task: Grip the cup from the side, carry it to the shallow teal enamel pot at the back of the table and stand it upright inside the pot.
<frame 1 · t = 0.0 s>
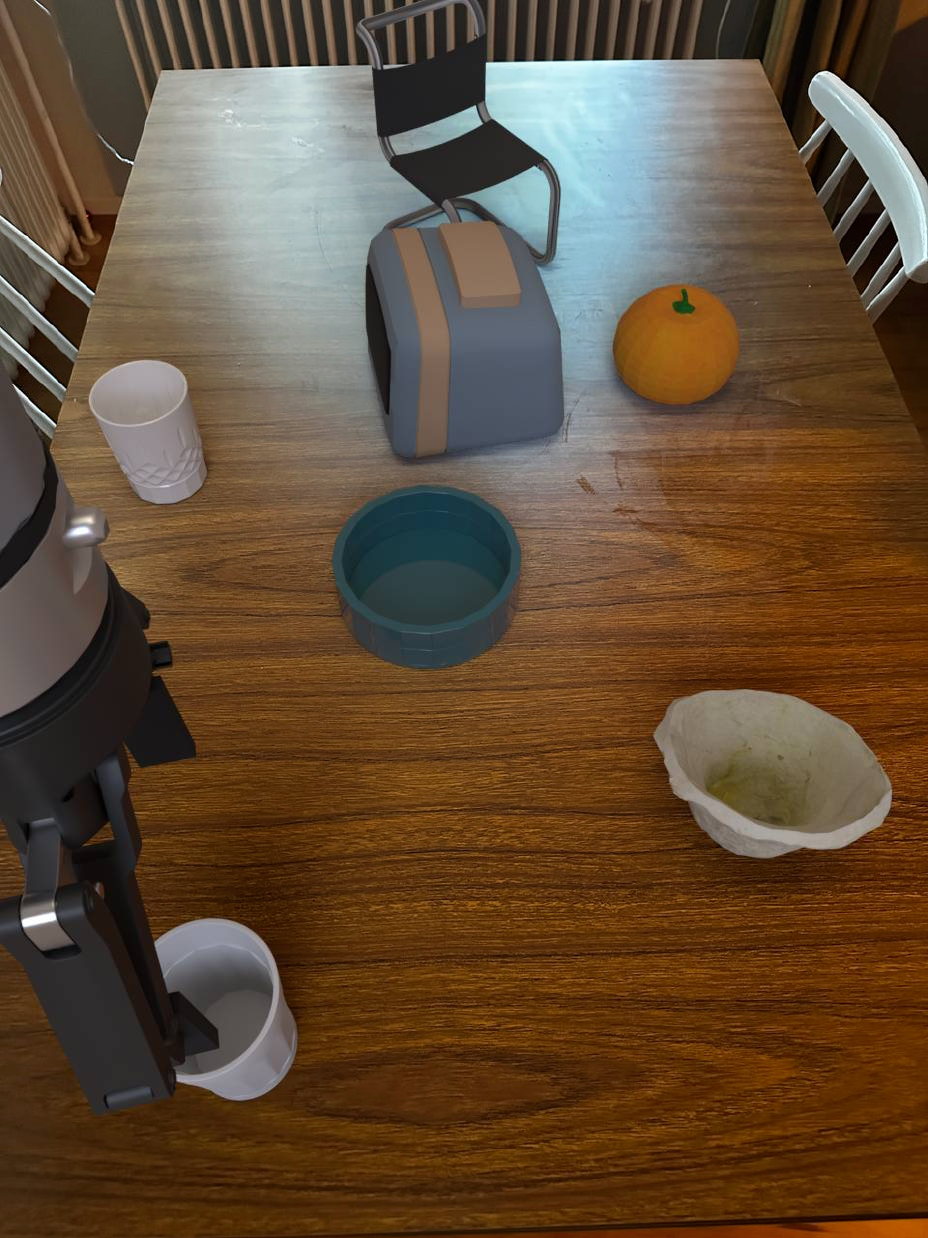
hand: (176, 889, 43), 21 cm above the table, tool pointing down, fingers open, 13 cm apart
pot: (429, 593, 78), on the table
bowl: (743, 802, 68), on the table
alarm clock: (463, 398, 91), on the table
fruit: (668, 379, 93), on the table
cup: (246, 1044, 59), on the table
chair: (462, 256, 104), on the table
white cup: (170, 478, 86), on the table
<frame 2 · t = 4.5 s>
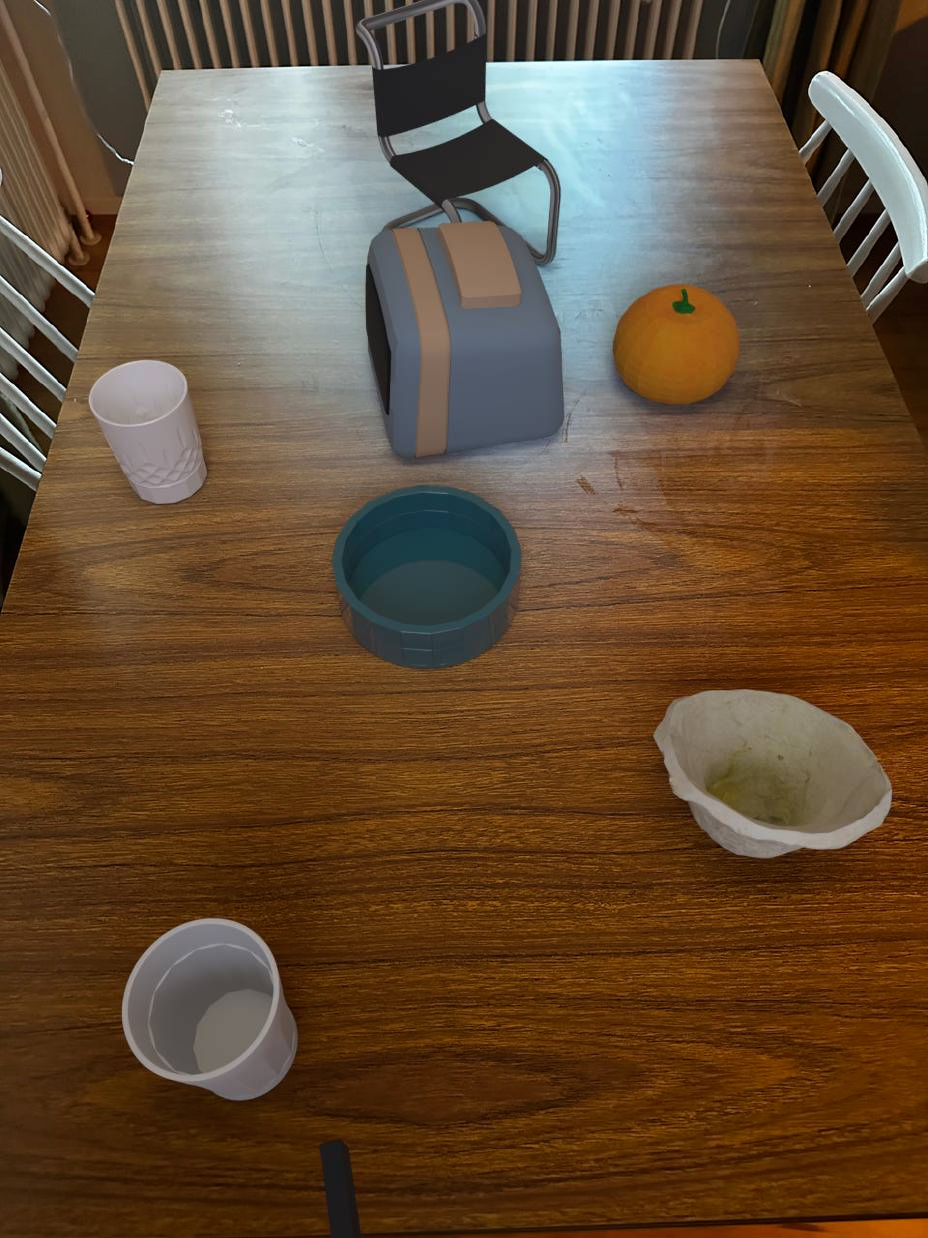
hand: (143, 1194, 34), 24 cm above the table, tool horizontal, fingers open, 13 cm apart
nothing on the table moved.
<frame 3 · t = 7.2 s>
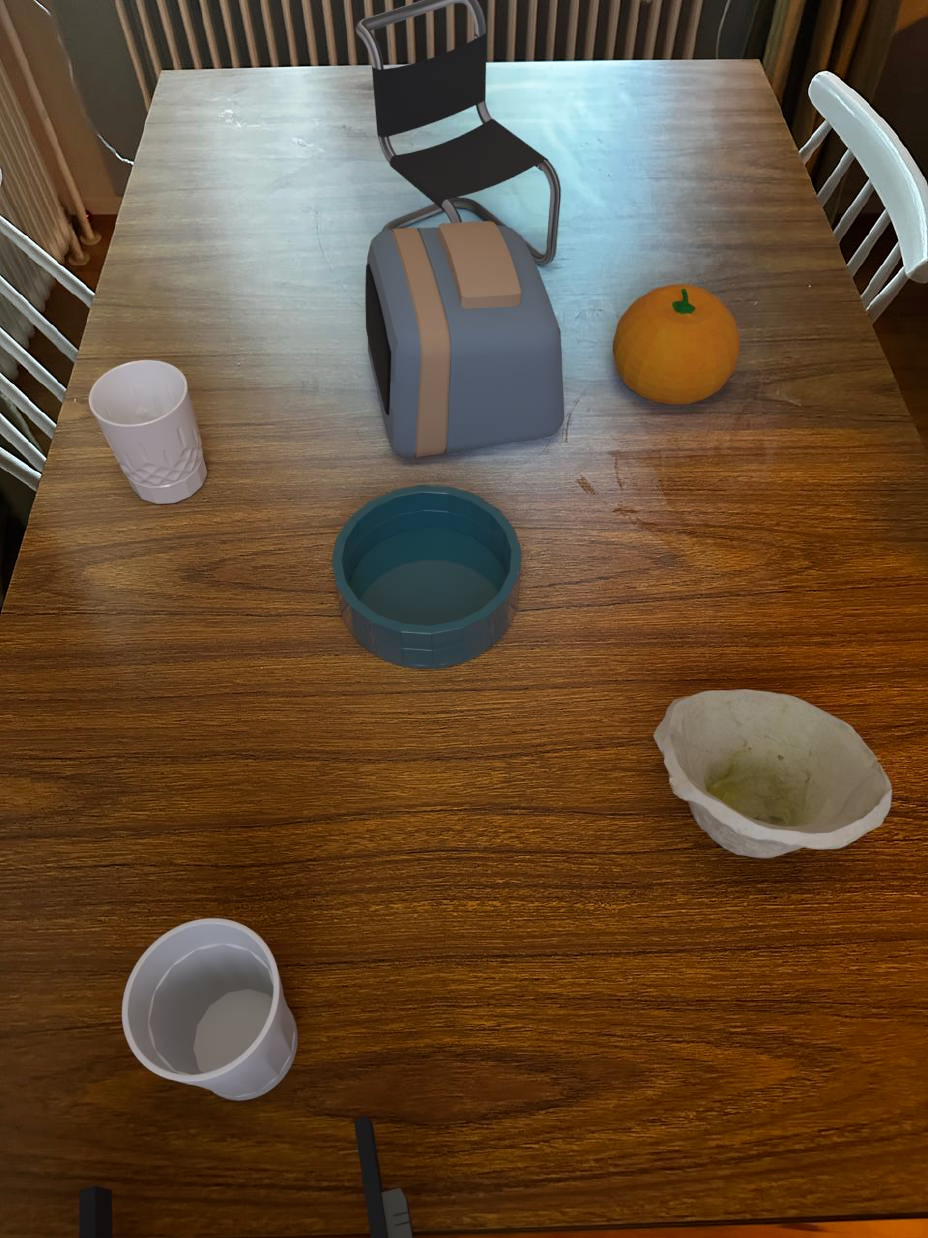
hand: (231, 1154, 49), 7 cm above the table, tool horizontal, fingers open, 13 cm apart
nothing on the table moved.
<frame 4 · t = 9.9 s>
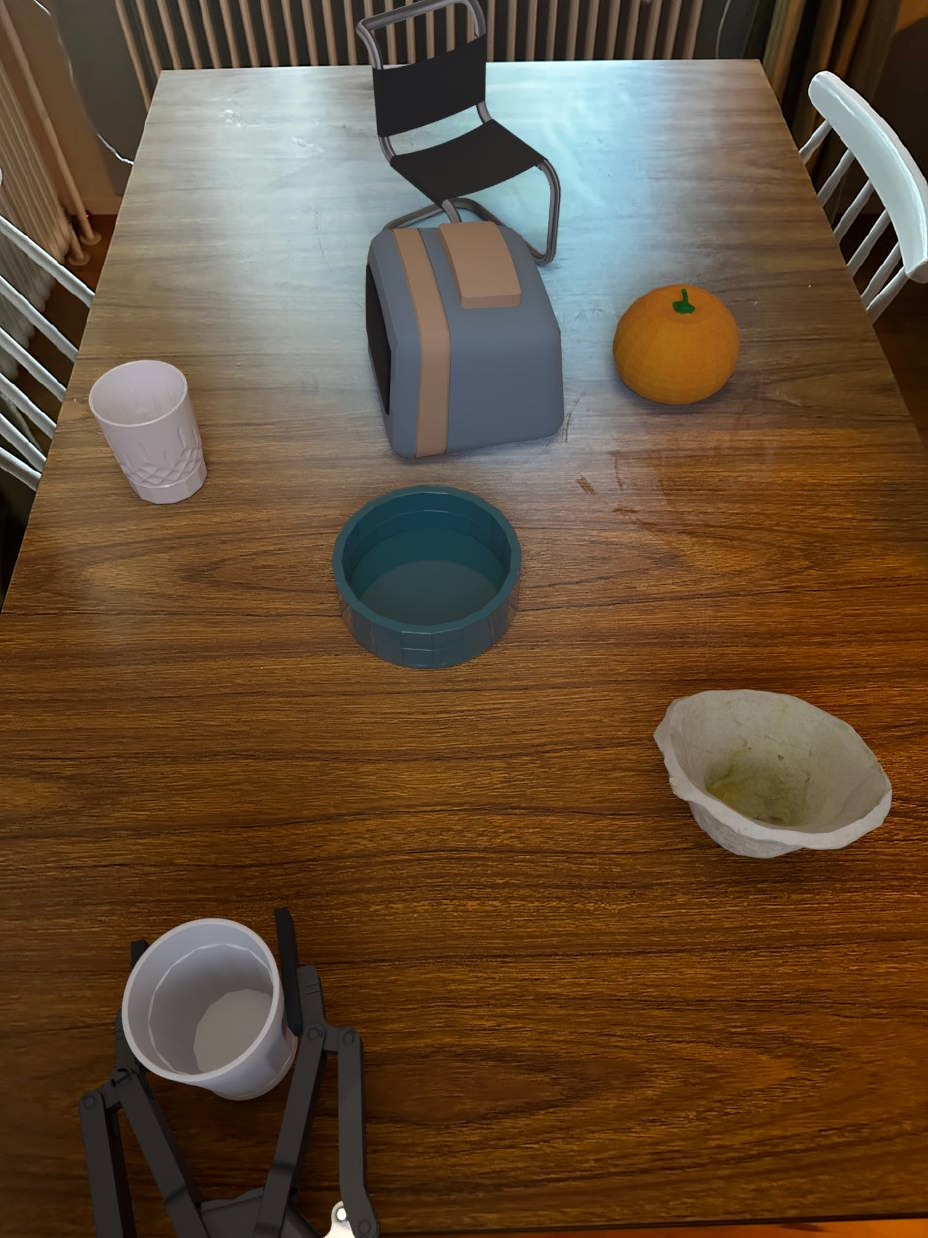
hand: (214, 931, 55), 7 cm above the table, tool horizontal, fingers closed on cup, 7 cm apart
cup: (246, 1044, 59), on the table, touching gripper
everything else where it was.
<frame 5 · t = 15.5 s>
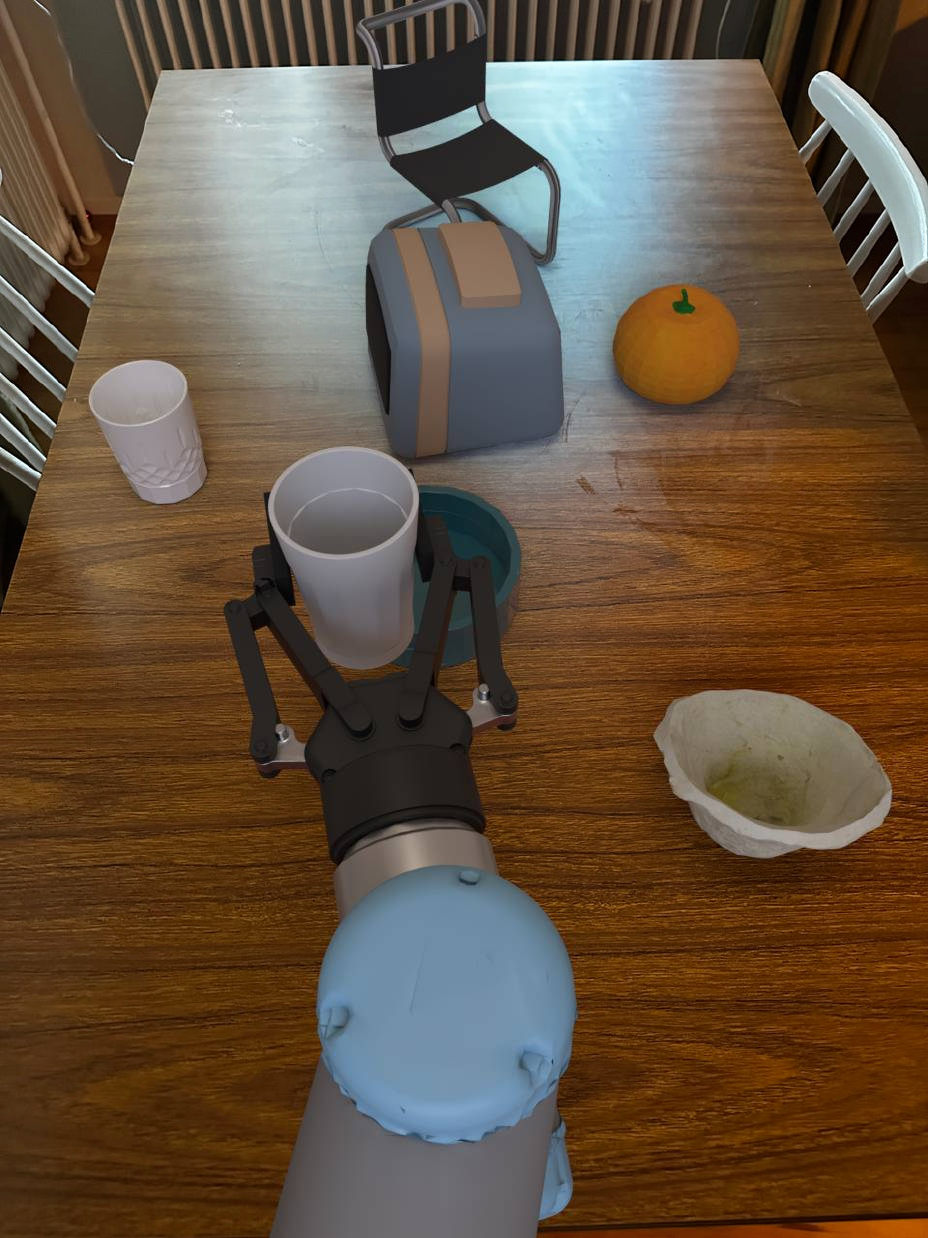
hand: (340, 496, 57), 20 cm above the table, tool horizontal, fingers closed on cup, 7 cm apart
cup: (364, 628, 60), point 13 cm above the table, touching gripper
everything else where it was.
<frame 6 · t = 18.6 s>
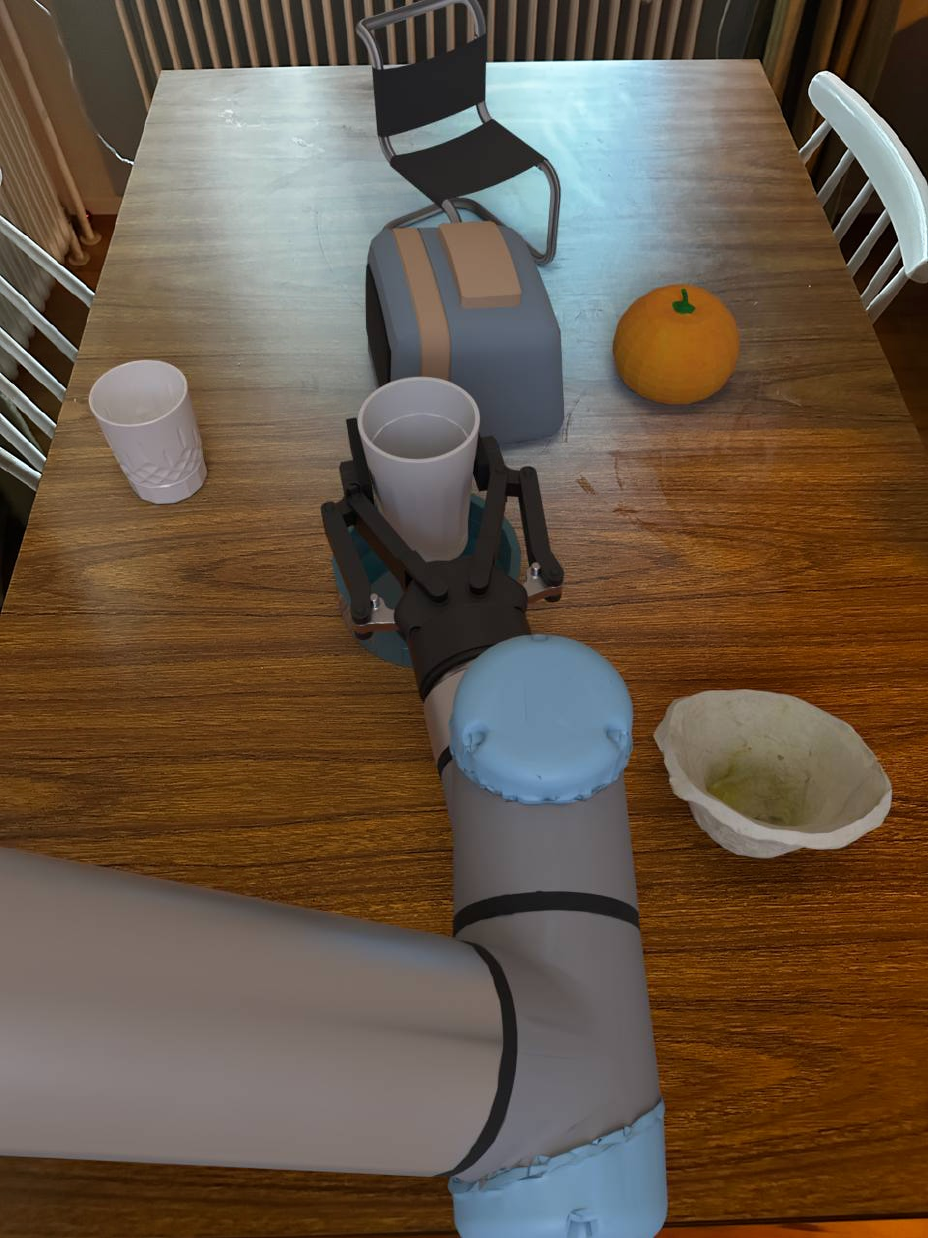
hand: (408, 423, 69), 14 cm above the table, tool horizontal, fingers closed on cup, 7 cm apart
cup: (426, 537, 72), point 7 cm above the table, touching gripper
everything else where it was.
when the fingers open (7 cm above the table, at t = 21.0 s): cup stays where it is, resting on pot.
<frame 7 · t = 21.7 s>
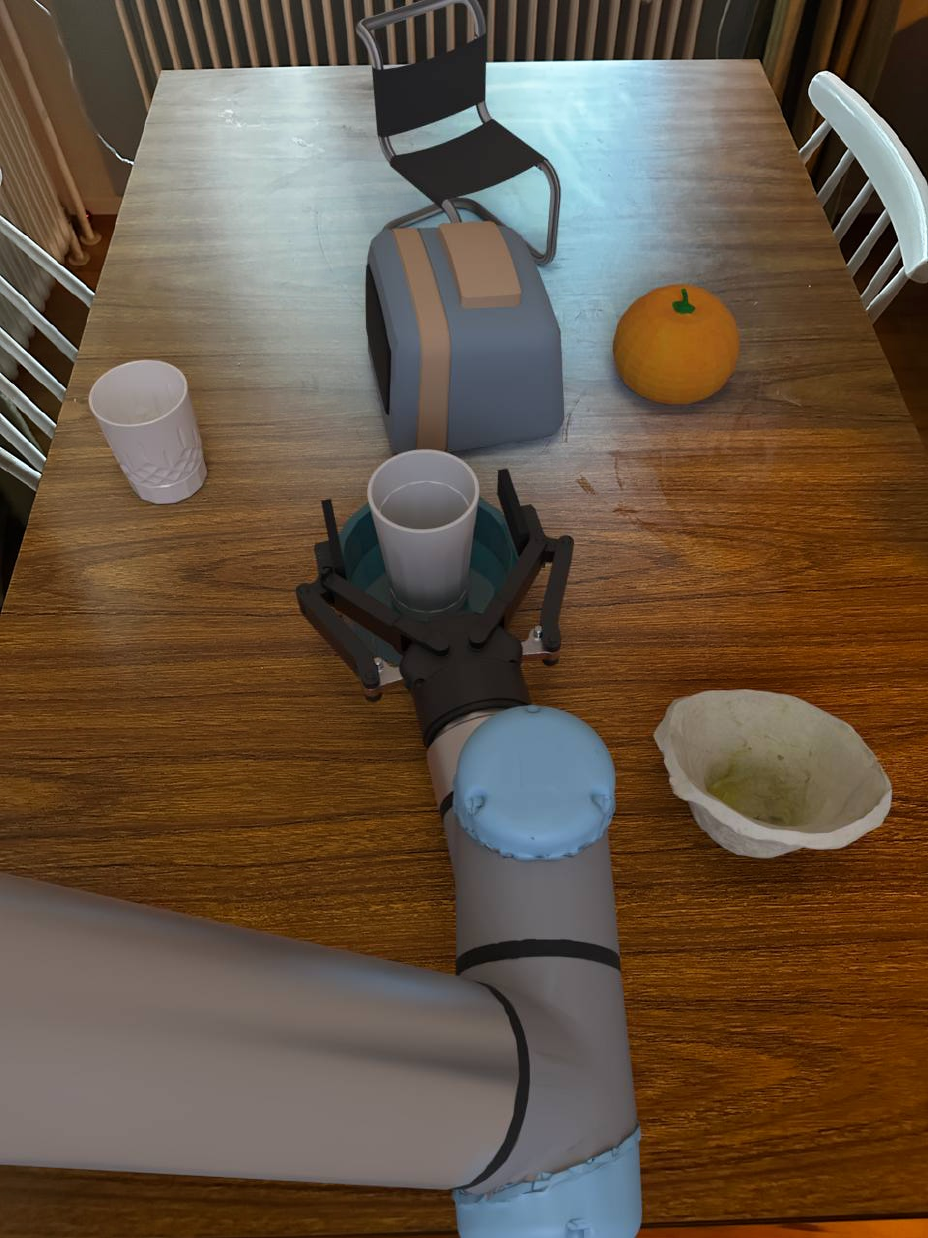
hand: (416, 495, 73), 8 cm above the table, tool horizontal, fingers open, 13 cm apart
cup: (429, 591, 78), resting on pot
everything else where it was.
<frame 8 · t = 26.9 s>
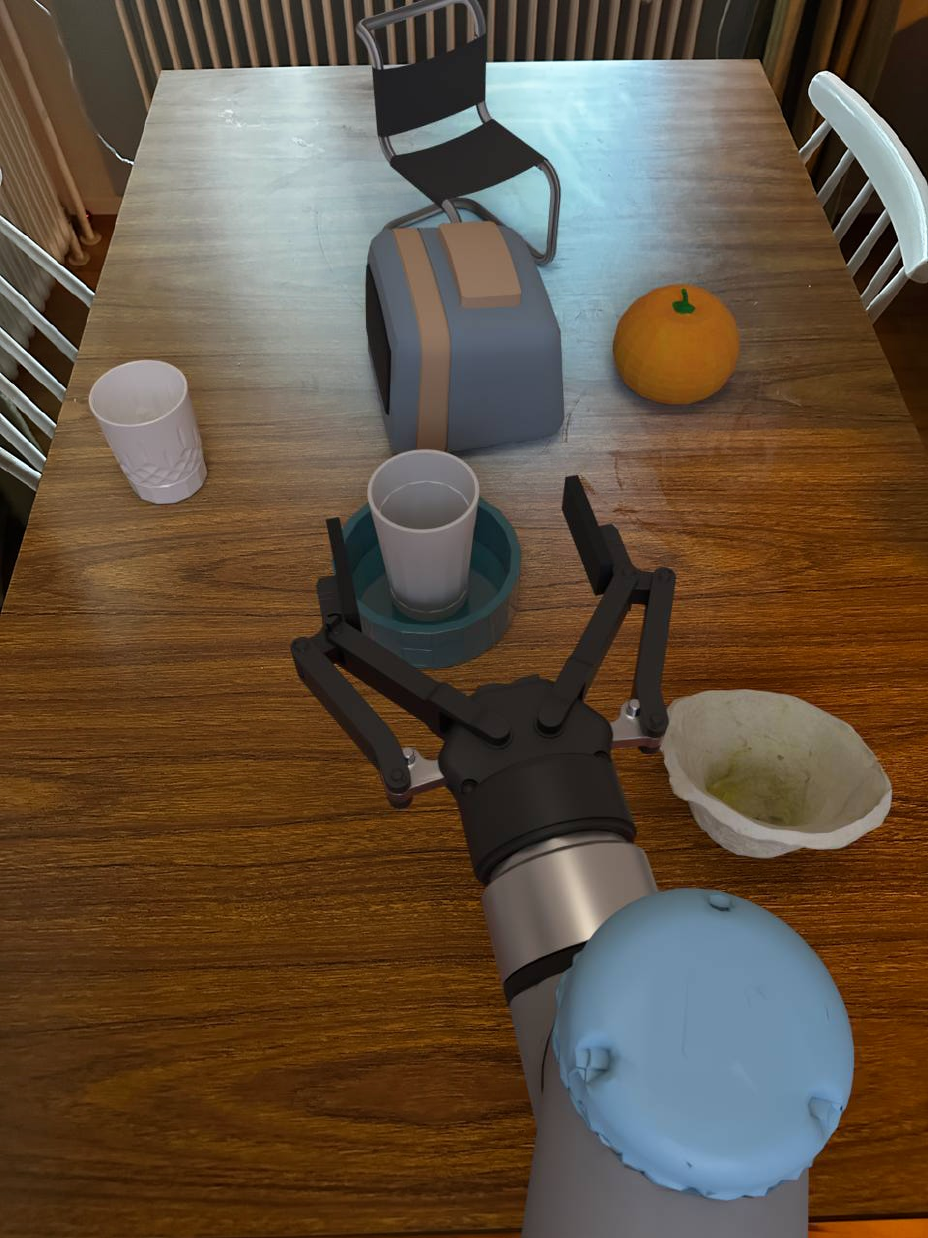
hand: (454, 512, 54), 22 cm above the table, tool horizontal, fingers open, 13 cm apart
nothing on the table moved.
at the end: cup 0.0 cm off-centre in the pot, point 0.3 cm above the pot's base; cup tilted 0° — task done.
